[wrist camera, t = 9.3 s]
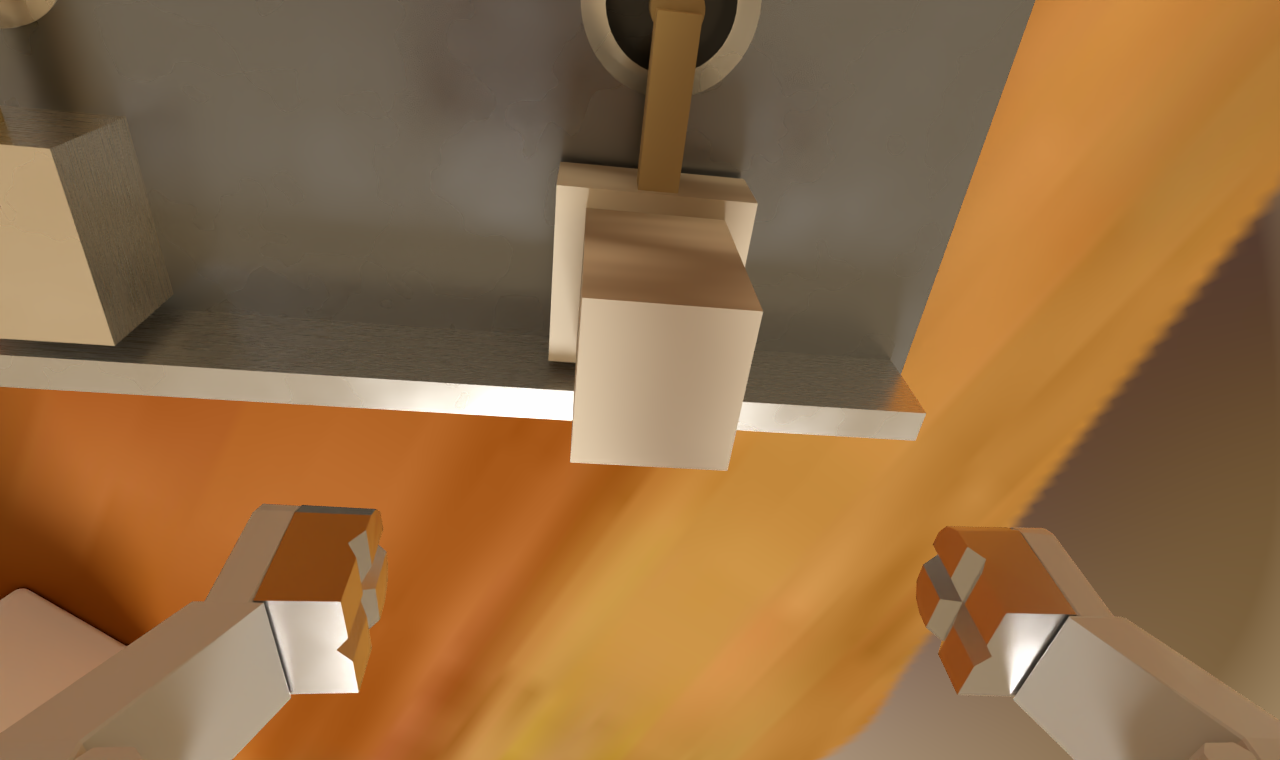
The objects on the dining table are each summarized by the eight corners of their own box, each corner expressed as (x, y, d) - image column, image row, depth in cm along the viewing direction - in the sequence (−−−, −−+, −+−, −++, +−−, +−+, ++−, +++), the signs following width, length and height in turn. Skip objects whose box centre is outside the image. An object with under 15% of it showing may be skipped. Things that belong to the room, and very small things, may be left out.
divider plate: (12, 309, 22) (-94, 381, 19) (-239, -306, 14) (-494, -374, 11) (886, 370, 25) (931, 441, 21) (1055, -120, 17) (1166, -130, 14)
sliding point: (552, 326, 22) (534, 478, 16) (570, -38, 17) (553, -13, 11) (714, 338, 22) (755, 489, 16) (780, -12, 17) (875, 25, 11)
